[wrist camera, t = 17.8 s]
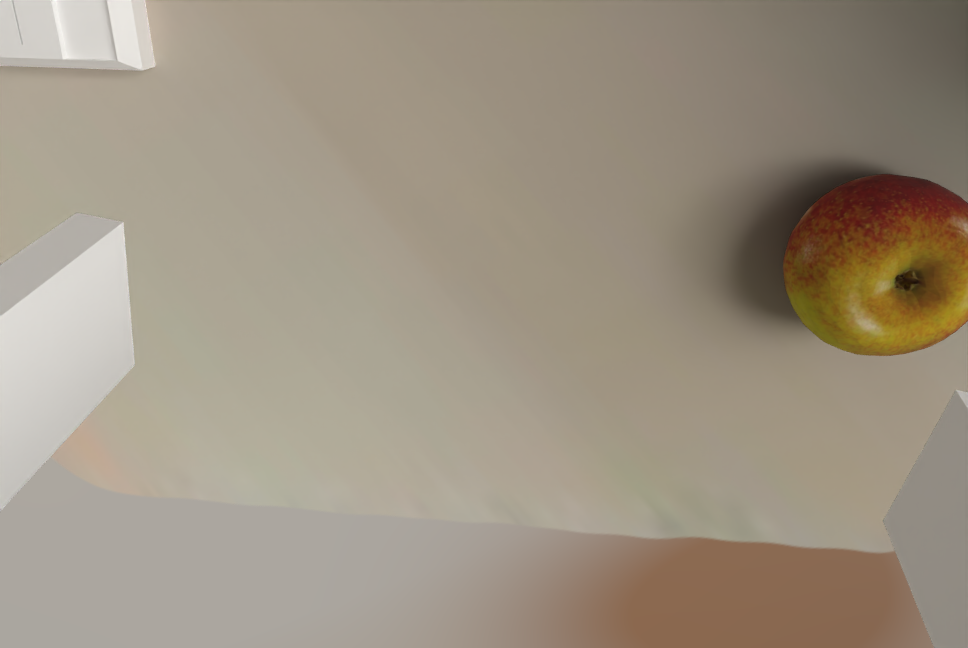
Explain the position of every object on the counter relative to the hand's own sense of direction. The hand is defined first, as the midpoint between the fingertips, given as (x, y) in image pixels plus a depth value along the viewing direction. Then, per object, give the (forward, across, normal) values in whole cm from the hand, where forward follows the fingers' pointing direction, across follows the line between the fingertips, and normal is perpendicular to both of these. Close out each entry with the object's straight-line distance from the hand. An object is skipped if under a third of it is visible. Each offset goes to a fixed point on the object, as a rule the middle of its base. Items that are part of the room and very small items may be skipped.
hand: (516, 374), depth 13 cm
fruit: (+33, +18, -9) cm, 38 cm away
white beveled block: (+33, -27, -5) cm, 43 cm away
